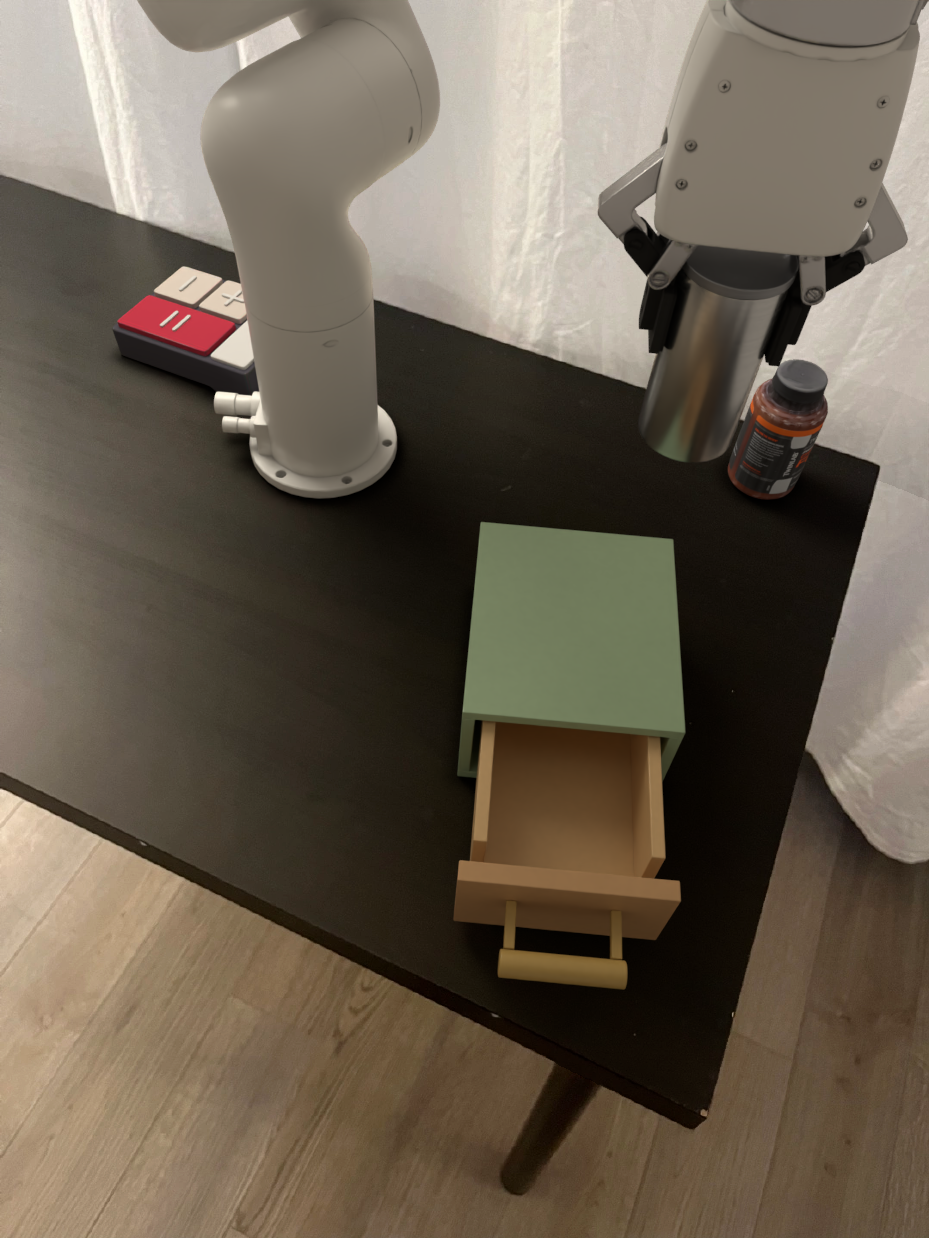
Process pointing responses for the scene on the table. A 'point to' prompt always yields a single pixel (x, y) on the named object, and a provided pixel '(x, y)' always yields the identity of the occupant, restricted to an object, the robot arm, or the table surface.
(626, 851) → the drawer
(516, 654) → the cabinet
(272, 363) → the robot arm
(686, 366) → the metal canister
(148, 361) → the calculator
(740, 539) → the table surface
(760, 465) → the supplement bottle
